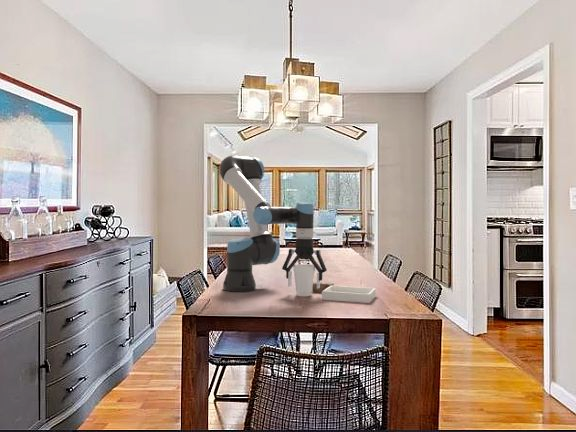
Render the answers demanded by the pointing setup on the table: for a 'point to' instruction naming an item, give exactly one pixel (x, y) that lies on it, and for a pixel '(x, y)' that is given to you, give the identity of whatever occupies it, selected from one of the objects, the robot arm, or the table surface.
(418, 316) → the table surface
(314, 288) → the walnut block
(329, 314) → the table surface
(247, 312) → the table surface
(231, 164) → the robot arm
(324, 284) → the walnut block
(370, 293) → the tray
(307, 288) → the foam cup
